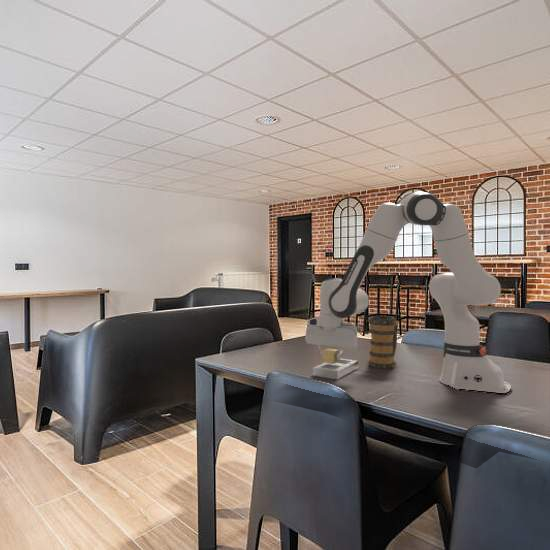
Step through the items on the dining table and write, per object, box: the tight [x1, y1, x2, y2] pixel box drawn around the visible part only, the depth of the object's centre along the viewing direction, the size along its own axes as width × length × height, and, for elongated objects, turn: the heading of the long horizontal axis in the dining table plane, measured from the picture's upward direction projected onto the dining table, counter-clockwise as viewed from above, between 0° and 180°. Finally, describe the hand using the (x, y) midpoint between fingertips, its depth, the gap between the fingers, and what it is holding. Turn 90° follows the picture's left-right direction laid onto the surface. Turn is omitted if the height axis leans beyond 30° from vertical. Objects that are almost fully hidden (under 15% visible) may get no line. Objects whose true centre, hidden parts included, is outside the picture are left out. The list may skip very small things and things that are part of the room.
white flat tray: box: [312, 357, 359, 381], centre depth 159 cm, size 10×20×3 cm, turn 147°
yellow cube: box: [322, 348, 339, 364], centre depth 154 cm, size 4×4×4 cm
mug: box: [366, 315, 399, 370], centre depth 171 cm, size 13×17×20 cm
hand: (330, 357), depth 154 cm, fingers closed on yellow cube, 4 cm apart
